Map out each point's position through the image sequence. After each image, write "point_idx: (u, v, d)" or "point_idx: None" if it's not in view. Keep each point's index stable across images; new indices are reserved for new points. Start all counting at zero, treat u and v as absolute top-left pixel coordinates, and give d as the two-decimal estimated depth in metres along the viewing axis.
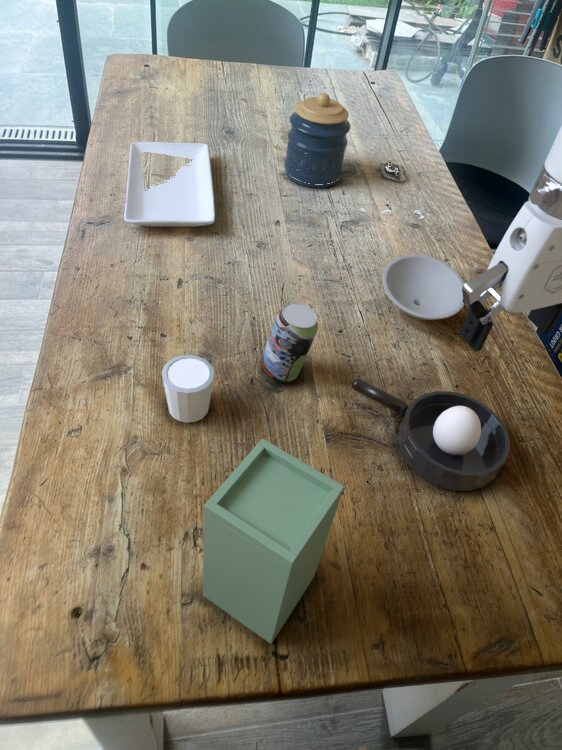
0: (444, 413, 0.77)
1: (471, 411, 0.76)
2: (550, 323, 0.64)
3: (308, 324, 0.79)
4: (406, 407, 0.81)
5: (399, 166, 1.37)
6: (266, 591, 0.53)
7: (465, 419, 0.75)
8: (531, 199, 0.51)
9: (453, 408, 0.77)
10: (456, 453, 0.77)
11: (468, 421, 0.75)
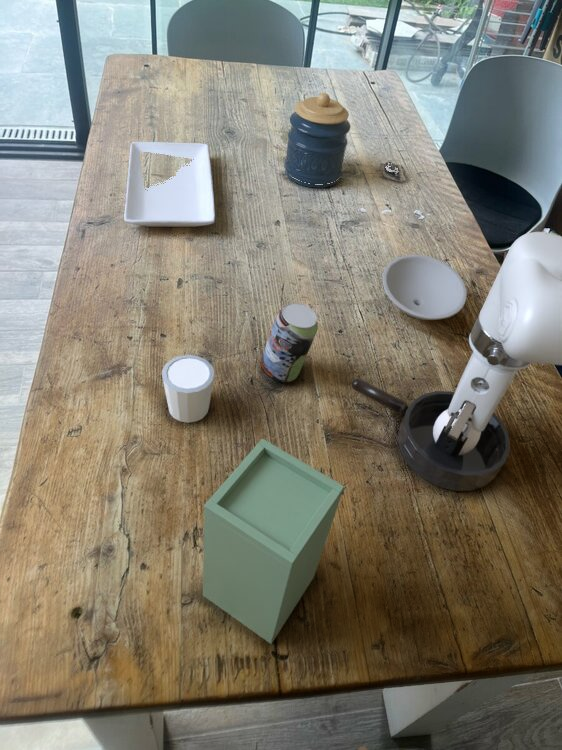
0: (444, 413, 0.77)
1: None
2: None
3: (308, 324, 0.79)
4: (406, 407, 0.81)
5: (399, 166, 1.37)
6: (266, 591, 0.53)
7: None
8: (489, 362, 0.63)
9: None
10: None
11: None
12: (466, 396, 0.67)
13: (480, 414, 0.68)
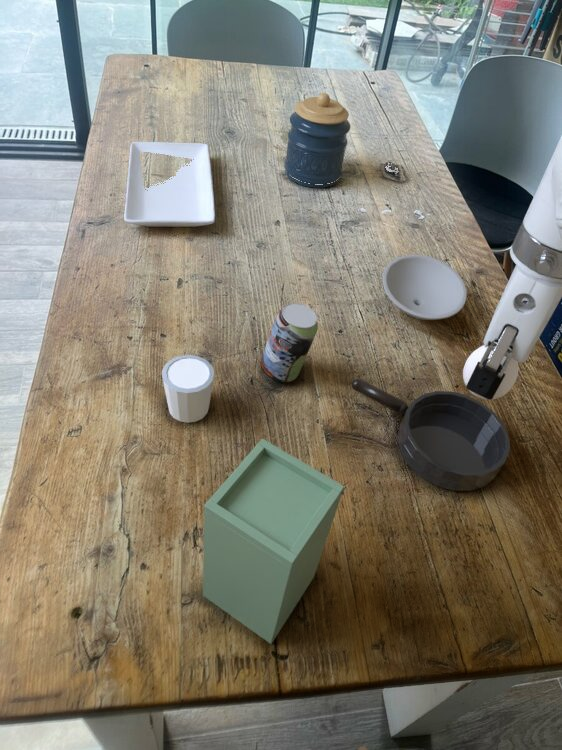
0: (476, 351, 0.68)
1: None
2: None
3: (308, 324, 0.79)
4: (406, 407, 0.81)
5: (399, 166, 1.37)
6: (266, 591, 0.53)
7: None
8: (538, 271, 0.54)
9: None
10: None
11: (505, 357, 0.66)
12: (507, 319, 0.58)
13: (523, 340, 0.59)
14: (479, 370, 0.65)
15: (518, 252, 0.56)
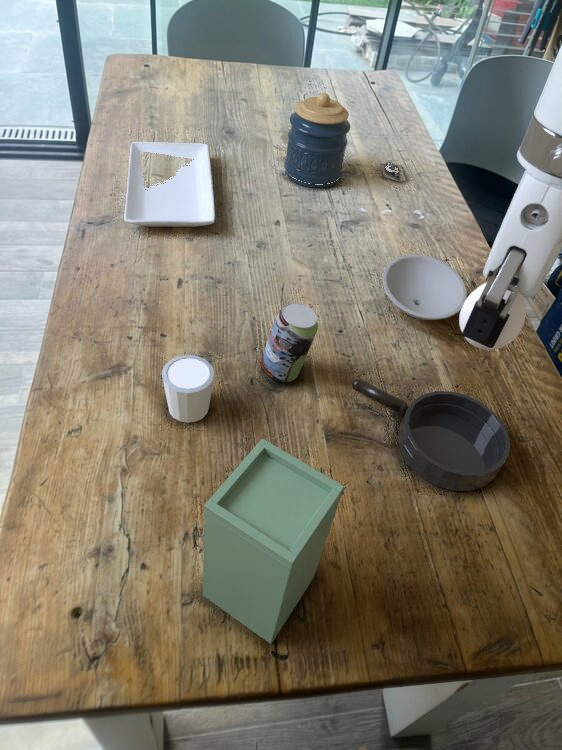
0: (475, 290, 0.57)
1: None
2: None
3: (308, 324, 0.79)
4: (406, 407, 0.81)
5: (399, 166, 1.37)
6: (266, 591, 0.53)
7: (505, 293, 0.54)
8: (552, 169, 0.42)
9: None
10: None
11: None
12: (512, 239, 0.47)
13: (532, 266, 0.47)
14: (478, 311, 0.54)
15: (527, 152, 0.45)
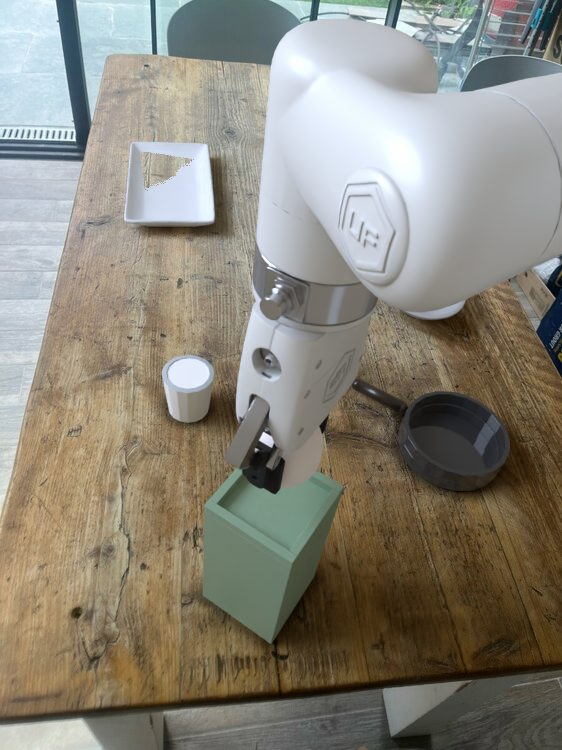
0: None
1: None
2: (322, 424, 0.47)
3: None
4: (406, 407, 0.81)
5: None
6: (266, 591, 0.53)
7: None
8: (265, 313, 0.30)
9: None
10: None
11: None
12: (251, 386, 0.35)
13: (279, 420, 0.35)
14: None
15: (254, 277, 0.33)
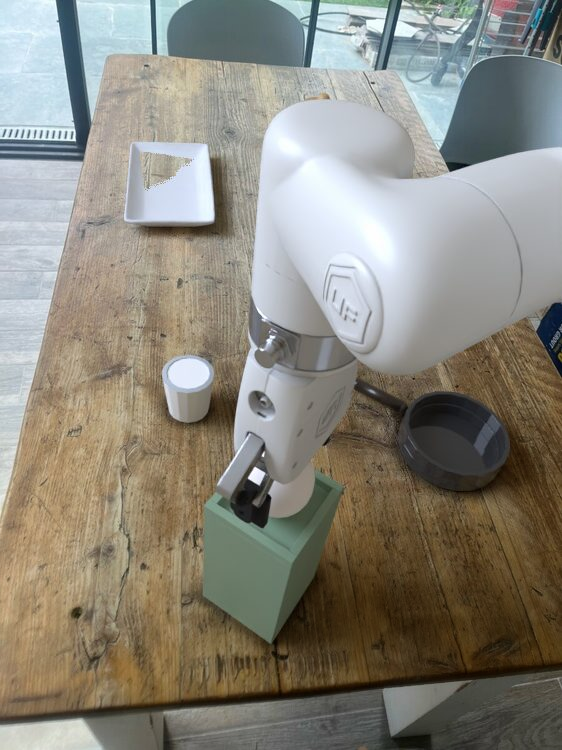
0: None
1: None
2: None
3: None
4: (406, 407, 0.81)
5: None
6: (266, 591, 0.53)
7: None
8: (259, 362, 0.33)
9: None
10: (274, 516, 0.48)
11: None
12: (247, 424, 0.38)
13: (274, 456, 0.38)
14: None
15: (249, 325, 0.36)
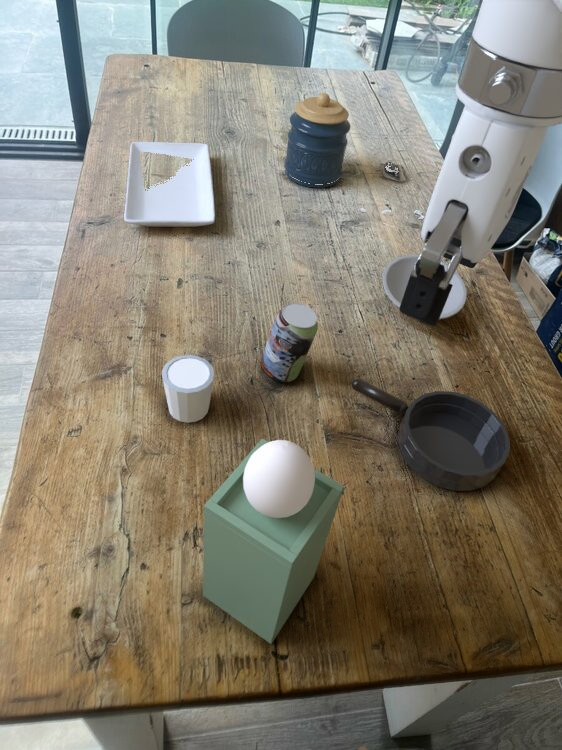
0: (255, 452, 0.48)
1: (293, 450, 0.47)
2: None
3: (308, 324, 0.79)
4: (406, 407, 0.81)
5: (399, 166, 1.37)
6: (266, 591, 0.53)
7: (279, 464, 0.46)
8: (492, 99, 0.34)
9: (267, 444, 0.48)
10: (274, 516, 0.48)
11: (285, 467, 0.46)
12: (451, 191, 0.39)
13: (476, 223, 0.39)
14: (415, 281, 0.45)
15: (465, 82, 0.37)
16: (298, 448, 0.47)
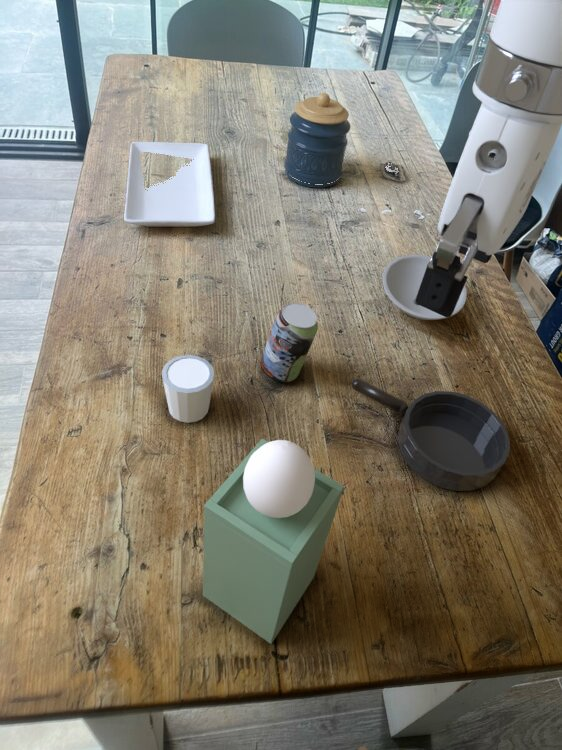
0: (255, 452, 0.48)
1: (293, 450, 0.47)
2: None
3: (308, 324, 0.79)
4: (406, 407, 0.81)
5: (399, 166, 1.37)
6: (266, 591, 0.53)
7: (279, 464, 0.46)
8: (509, 96, 0.36)
9: (267, 444, 0.48)
10: (274, 516, 0.48)
11: (285, 467, 0.46)
12: (468, 185, 0.41)
13: (491, 216, 0.41)
14: (431, 273, 0.46)
15: (482, 80, 0.38)
16: (298, 448, 0.47)
